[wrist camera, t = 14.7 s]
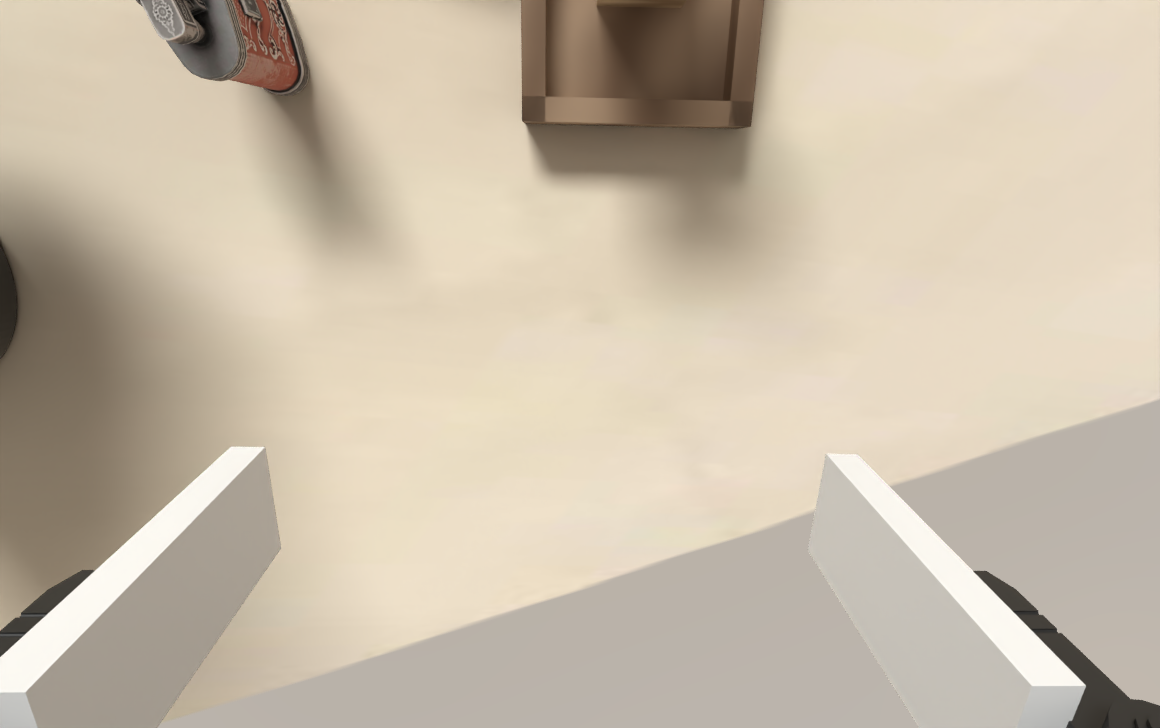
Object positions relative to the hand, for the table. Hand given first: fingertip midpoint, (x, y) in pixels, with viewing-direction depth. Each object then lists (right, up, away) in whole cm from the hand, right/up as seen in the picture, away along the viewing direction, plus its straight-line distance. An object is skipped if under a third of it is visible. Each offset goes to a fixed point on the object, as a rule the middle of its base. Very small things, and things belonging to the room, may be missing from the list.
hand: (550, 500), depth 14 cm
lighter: (-16, +22, +18) cm, 32 cm away
